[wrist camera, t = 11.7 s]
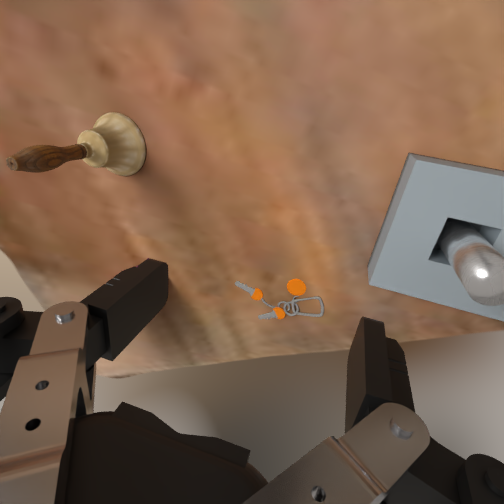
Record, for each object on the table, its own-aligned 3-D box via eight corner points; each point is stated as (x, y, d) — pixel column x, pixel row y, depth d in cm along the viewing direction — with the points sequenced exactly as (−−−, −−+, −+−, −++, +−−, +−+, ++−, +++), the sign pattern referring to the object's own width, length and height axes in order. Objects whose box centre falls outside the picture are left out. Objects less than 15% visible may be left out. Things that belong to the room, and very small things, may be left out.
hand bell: (127, 101, 41) (8, 99, 27) (156, 164, 43) (61, 191, 29) (83, 126, 44) (-42, 136, 30) (112, 183, 46) (9, 216, 33)
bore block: (408, 152, 34) (416, 159, 30) (556, 180, 31) (589, 193, 27) (367, 265, 40) (369, 284, 36) (487, 296, 38) (504, 321, 33)
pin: (441, 212, 34) (479, 259, 24) (477, 220, 34) (533, 272, 23) (428, 242, 36) (458, 298, 26) (462, 250, 35) (507, 311, 25)
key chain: (320, 275, 43) (320, 278, 42) (325, 320, 46) (325, 324, 45) (234, 277, 47) (232, 280, 47) (243, 318, 50) (241, 321, 49)
